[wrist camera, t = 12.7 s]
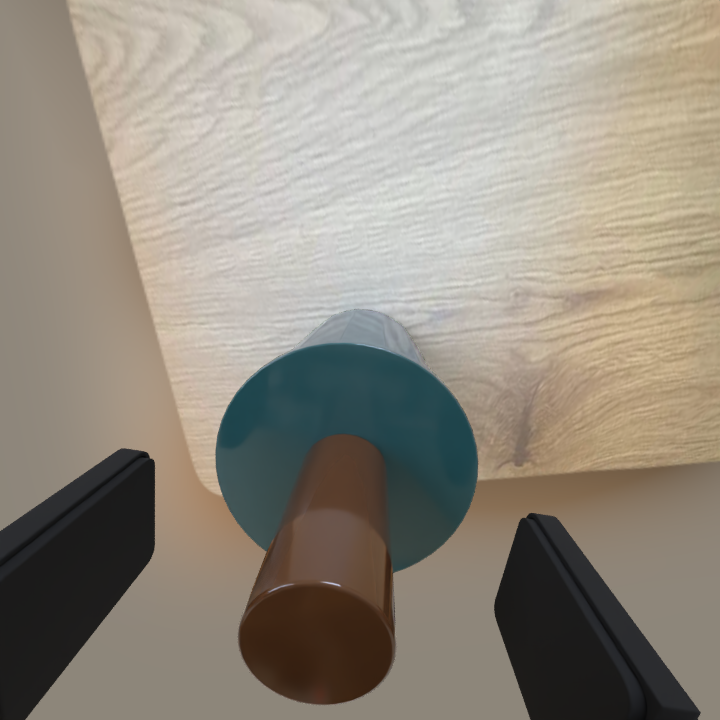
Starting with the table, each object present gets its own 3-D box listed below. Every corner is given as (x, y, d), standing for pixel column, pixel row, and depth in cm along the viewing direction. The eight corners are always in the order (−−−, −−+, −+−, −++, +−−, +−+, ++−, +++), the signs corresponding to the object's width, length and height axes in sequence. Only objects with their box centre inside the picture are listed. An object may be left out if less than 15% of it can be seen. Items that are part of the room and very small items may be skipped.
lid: (222, 536, 14) (84, 772, 7) (235, 317, 11) (54, 375, 5) (442, 571, 13) (500, 843, 7) (496, 358, 11) (650, 469, 5)
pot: (297, 412, 25) (222, 542, 13) (309, 300, 23) (234, 331, 11) (407, 430, 25) (436, 577, 13) (429, 319, 23) (488, 370, 11)
